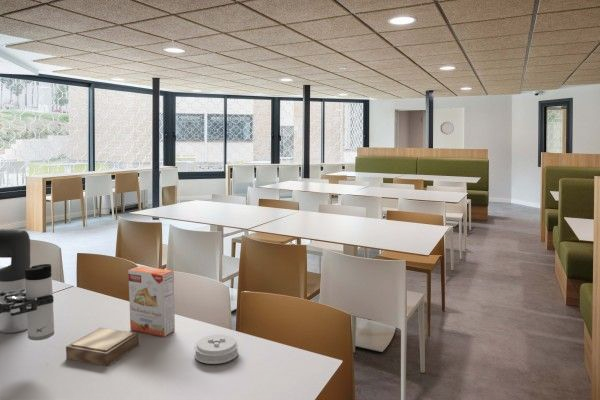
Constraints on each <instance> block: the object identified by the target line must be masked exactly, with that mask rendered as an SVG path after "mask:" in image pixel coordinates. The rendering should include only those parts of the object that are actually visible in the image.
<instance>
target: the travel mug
mask: <svg viewBox="0 0 600 400" xmlns="http://www.w3.org/2000/svg"><path fill="white" fill-rule="evenodd" d="M25 289H26V297H28V298H37V297H41V296H46V295H53V293H54V292H53V274H52V264H49V263H45V264H44V263H43V264H37V265H31V266H30V268H28V269H27V268H26V269H25ZM53 296H54V295H53ZM29 305H31V304H29ZM28 309H29V308H28ZM27 328H28V329H27V339H28V340H31V341H42V340H48V339H49V338H51V337H53V336H54V334H55V318H54V302H53V303H50V304H46V305H41V306H38V307H37V310H35V311H31V312H27Z"/></svg>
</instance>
